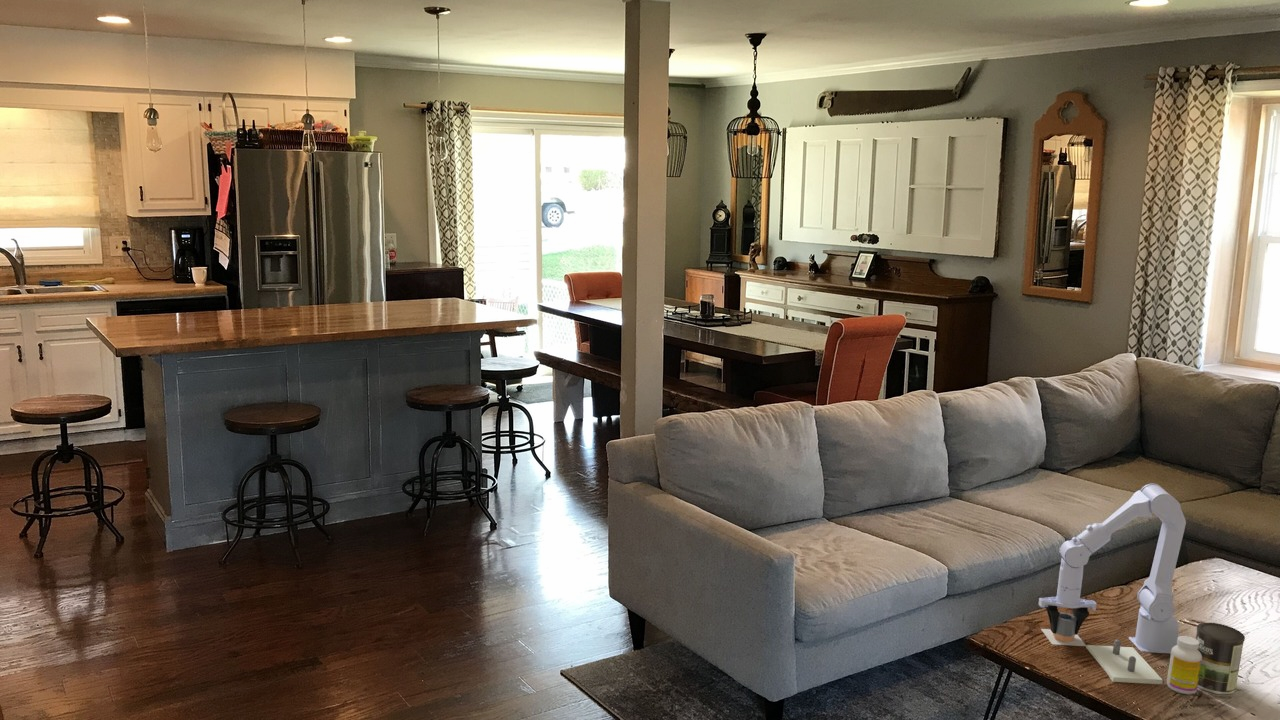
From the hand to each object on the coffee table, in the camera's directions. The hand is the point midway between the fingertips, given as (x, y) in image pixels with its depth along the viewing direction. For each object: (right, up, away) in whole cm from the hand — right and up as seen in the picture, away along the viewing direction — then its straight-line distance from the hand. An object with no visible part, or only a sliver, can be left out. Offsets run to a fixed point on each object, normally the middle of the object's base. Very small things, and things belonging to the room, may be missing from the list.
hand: (1063, 632), depth 269 cm
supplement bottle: (+19, -7, -24) cm, 31 cm away
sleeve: (0, -1, 0) cm, 1 cm away
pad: (0, -2, 0) cm, 2 cm away
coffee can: (+28, -7, -22) cm, 36 cm away
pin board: (+9, -5, -14) cm, 17 cm away
